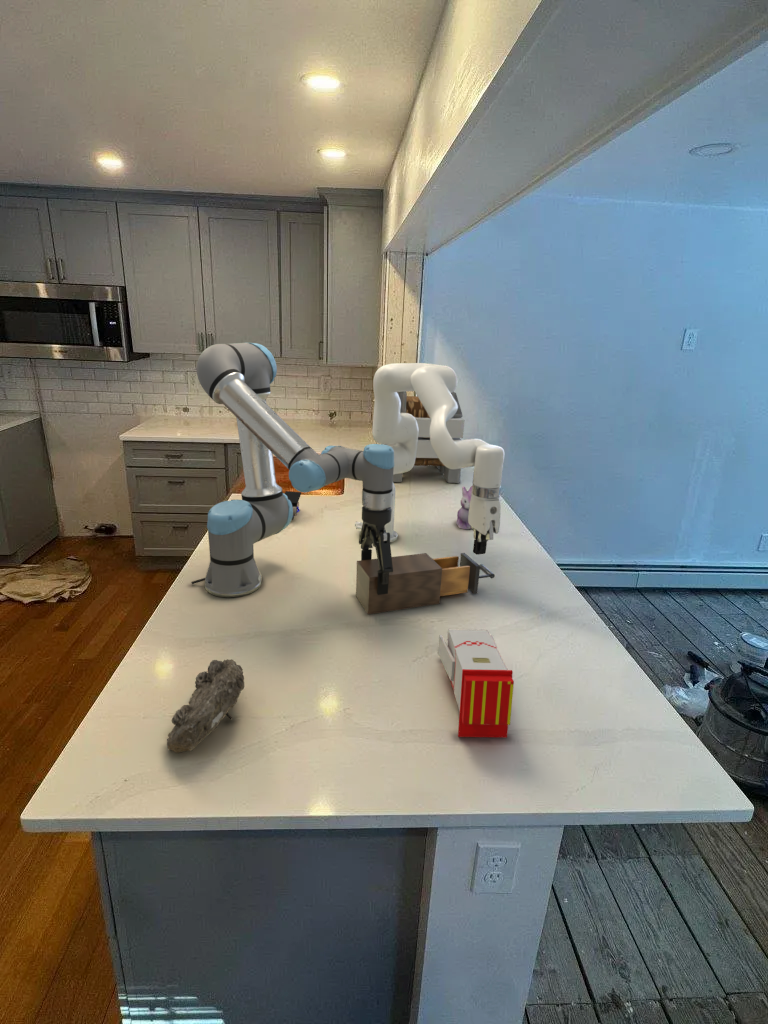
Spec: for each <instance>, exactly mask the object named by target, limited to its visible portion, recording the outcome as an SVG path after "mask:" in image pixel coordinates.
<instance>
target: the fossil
mask: <svg viewBox="0 0 768 1024" xmlns="http://www.w3.org/2000/svg"><path fill="white" fill-rule="evenodd" d="M243 670H244V669H243V667H242V665H240V664H237V662H236V661H235V660H234V659H232V658H231V659H227V658H226V659H224V660H223V661H222V660H217V659H212V660H211V661H210V663H209V665H208V666H207V671H201V672H199V673H198V674H197V675H196V676H195V680H194V684H195V685H194V687H195V689H194V690H193V693H192V694H191V697H190V698H189V700H188V704H184V705H182V706H181V707H180V709H177V710H176V711H175V713H174V715H173V716H172V718H171V723H172V724H173V727H172V730H171V731H170V732H168V734H167V738H166V741H167V742H166V745H167V749H168V750H169V751H173V752H174V753H176V754H178V753H182V752H188V751H189V752H192V751H193V750H195V748H196V747H197V746H199V744H200V743H201V742H203V741H204V740H205V739H206V738H207V737H208V736H209V735H210V734H211V733H212V732H214V730H215V729H217V727H218V726H219V724H220V722H221V721H222V720H223V719H224V718H225V716H226V717H227V719H229V720H233V717H232V715H230V714H229V710H230V709H231V708H234V706H235V704H236V703H237V702H238V699H239V697H240V695H241V693H242V691H243V690H245V689H244V688H245V675H244V671H243Z"/></svg>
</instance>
